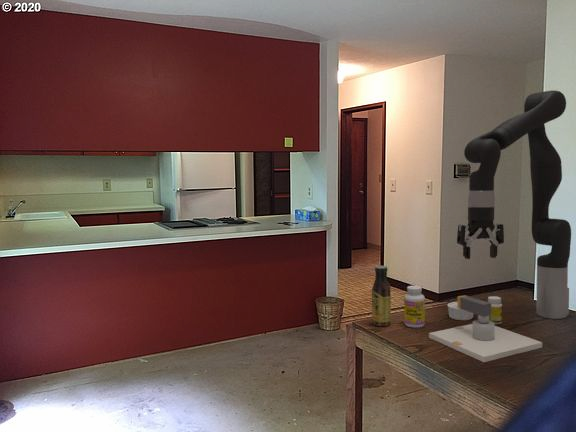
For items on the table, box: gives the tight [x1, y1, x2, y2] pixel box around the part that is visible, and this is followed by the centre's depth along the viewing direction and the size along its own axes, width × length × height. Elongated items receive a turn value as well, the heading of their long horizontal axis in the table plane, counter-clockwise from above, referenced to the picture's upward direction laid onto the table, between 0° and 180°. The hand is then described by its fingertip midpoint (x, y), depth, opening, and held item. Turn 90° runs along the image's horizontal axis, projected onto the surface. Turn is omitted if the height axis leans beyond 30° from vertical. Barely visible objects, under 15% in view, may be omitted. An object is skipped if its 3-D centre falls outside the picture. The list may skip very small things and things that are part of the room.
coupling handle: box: [456, 294, 491, 323], centre depth 148 cm, size 10×3×6 cm, turn 24°
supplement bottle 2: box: [487, 295, 503, 325], centre depth 163 cm, size 5×5×8 cm
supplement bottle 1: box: [403, 285, 426, 329], centre depth 164 cm, size 7×7×13 cm
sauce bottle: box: [371, 265, 392, 327], centre depth 165 cm, size 7×6×20 cm
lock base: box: [428, 319, 543, 363], centre depth 146 cm, size 22×22×6 cm
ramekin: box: [447, 301, 474, 321], centre depth 171 cm, size 9×9×4 cm
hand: (480, 258), depth 151 cm, fingers open, 8 cm apart
